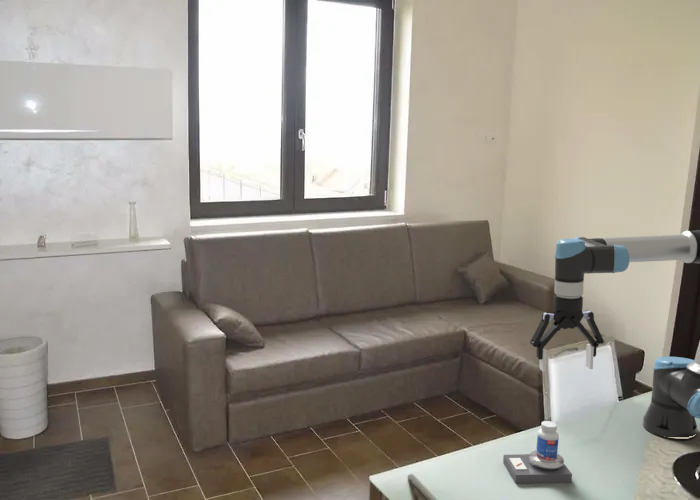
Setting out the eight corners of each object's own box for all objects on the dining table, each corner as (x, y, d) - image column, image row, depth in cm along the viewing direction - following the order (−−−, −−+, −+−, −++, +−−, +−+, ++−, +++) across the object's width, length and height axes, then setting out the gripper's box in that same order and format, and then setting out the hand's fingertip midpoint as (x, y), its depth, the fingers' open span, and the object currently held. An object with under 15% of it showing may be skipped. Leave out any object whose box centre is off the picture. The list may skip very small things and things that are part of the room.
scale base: (555, 461, 178) (556, 451, 177) (571, 482, 167) (572, 471, 166) (503, 462, 177) (503, 452, 176) (515, 483, 166) (516, 472, 165)
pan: (556, 453, 176) (556, 449, 176) (568, 469, 167) (569, 465, 167) (524, 453, 176) (524, 450, 175) (535, 470, 167) (535, 466, 167)
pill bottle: (546, 464, 168) (548, 430, 166) (531, 455, 172) (533, 422, 171) (561, 460, 170) (563, 425, 169) (546, 451, 175) (548, 418, 173)
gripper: (605, 290, 179) (602, 361, 183) (519, 293, 177) (518, 366, 181) (618, 296, 172) (615, 371, 175) (529, 300, 170) (527, 375, 173)
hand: (565, 368), depth 178 cm, fingers open, 13 cm apart
